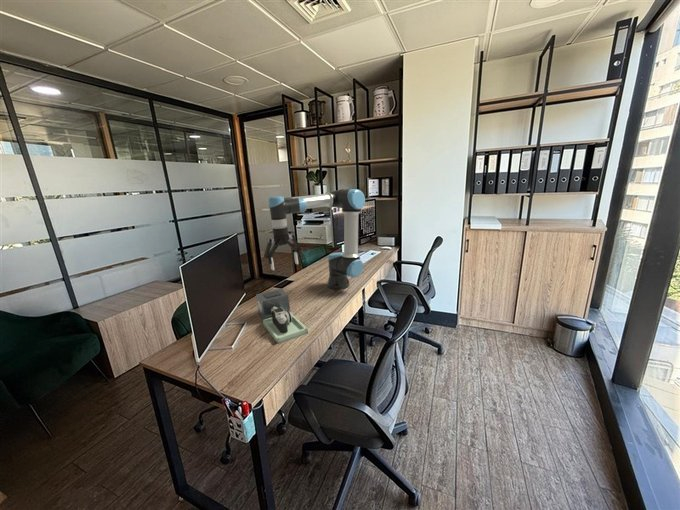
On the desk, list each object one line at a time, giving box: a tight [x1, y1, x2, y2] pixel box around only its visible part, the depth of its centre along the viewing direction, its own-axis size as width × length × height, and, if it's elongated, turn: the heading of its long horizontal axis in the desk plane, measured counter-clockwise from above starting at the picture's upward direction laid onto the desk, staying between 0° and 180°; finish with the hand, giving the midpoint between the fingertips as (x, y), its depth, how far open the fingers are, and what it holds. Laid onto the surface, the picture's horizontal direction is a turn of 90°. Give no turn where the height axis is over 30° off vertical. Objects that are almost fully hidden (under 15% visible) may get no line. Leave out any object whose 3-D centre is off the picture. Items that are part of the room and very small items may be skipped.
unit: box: [255, 288, 291, 321], centre depth 151 cm, size 15×12×12 cm
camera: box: [271, 307, 292, 334], centre depth 137 cm, size 16×9×10 cm, turn 30°
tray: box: [262, 312, 308, 345], centre depth 137 cm, size 15×22×2 cm
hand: (285, 266), depth 147 cm, fingers open, 13 cm apart
